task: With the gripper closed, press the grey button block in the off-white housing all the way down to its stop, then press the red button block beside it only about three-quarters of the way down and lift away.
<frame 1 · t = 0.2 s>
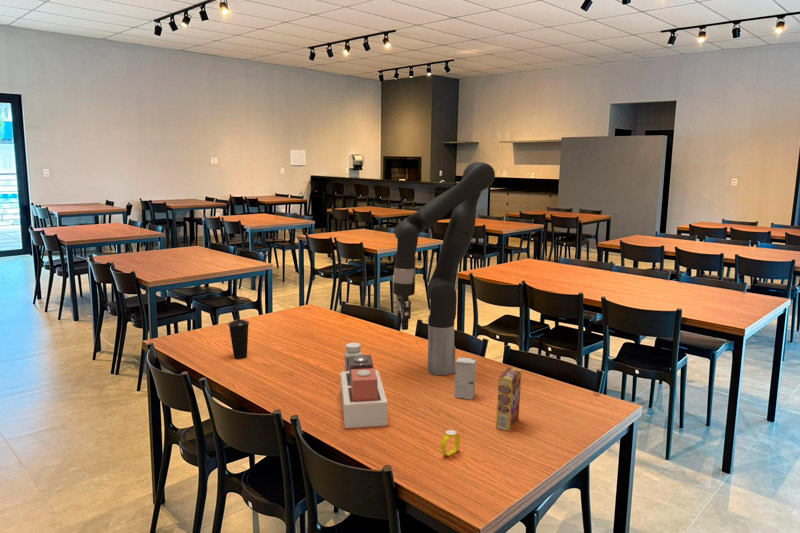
hand: (402, 326, 196), 17 cm above the table, tool pointing down, fingers open, 8 cm apart
drinking cup: (240, 357, 217), on the table
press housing: (362, 407, 172), on the table
skincare box: (465, 396, 180), on the table
red button block: (364, 384, 164), point 10 cm above the table, slide at 0.0 cm
grey button block: (360, 370, 176), point 10 cm above the table, slide at 0.0 cm
candy box: (507, 424, 161), on the table
watch: (450, 454, 144), on the table
pill bottle: (354, 376, 198), on the table
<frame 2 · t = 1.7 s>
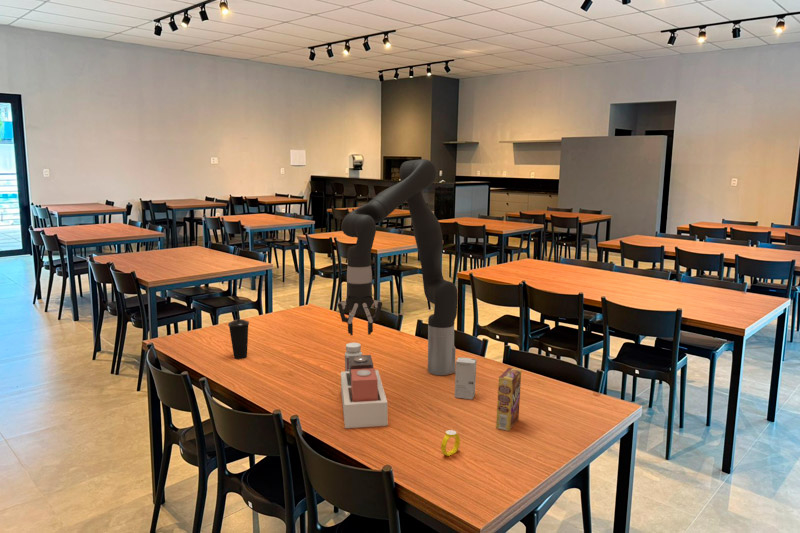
hand: (360, 334, 174), 21 cm above the table, tool pointing down, fingers open, 5 cm apart
nothing on the table moved.
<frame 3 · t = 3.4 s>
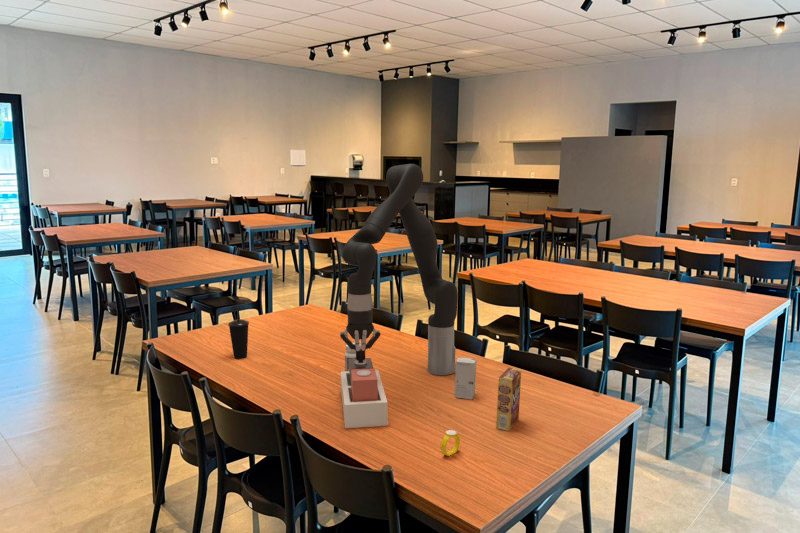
hand: (360, 361, 176), 13 cm above the table, tool pointing down, fingers closed
grey button block: (360, 373, 176), point 9 cm above the table, slide at 1.0 cm, touching gripper
everything else where it was.
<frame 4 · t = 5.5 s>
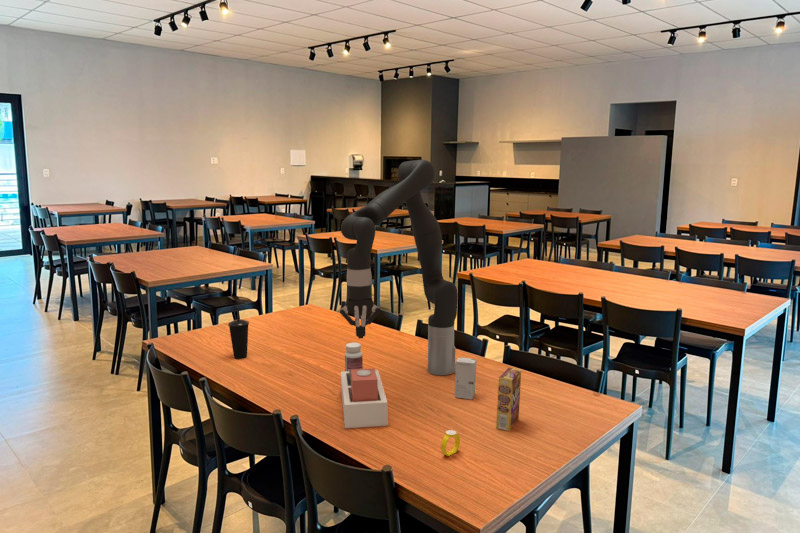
hand: (360, 337, 174), 20 cm above the table, tool pointing down, fingers closed
grey button block: (361, 383, 177), point 5 cm above the table, slide at 4.6 cm
everything else where it was.
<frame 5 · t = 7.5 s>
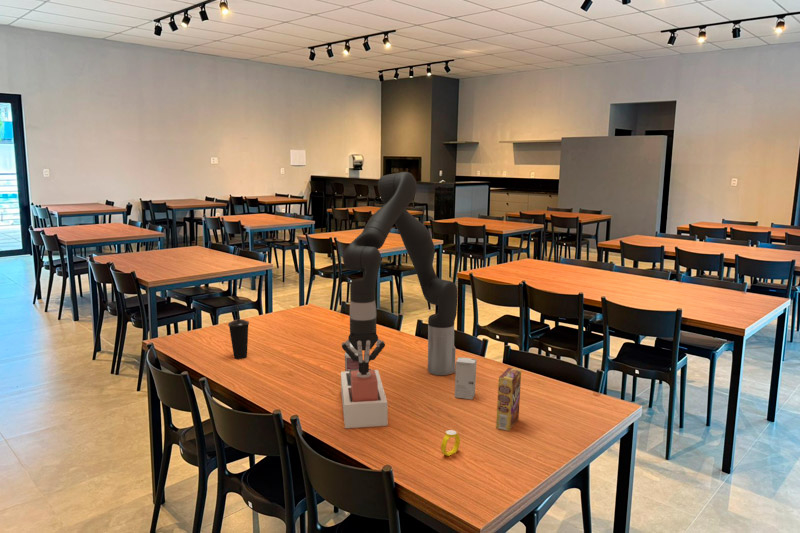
hand: (363, 373, 164), 13 cm above the table, tool pointing down, fingers closed
red button block: (364, 386, 164), point 9 cm above the table, slide at 0.5 cm, touching gripper
everything else where it was.
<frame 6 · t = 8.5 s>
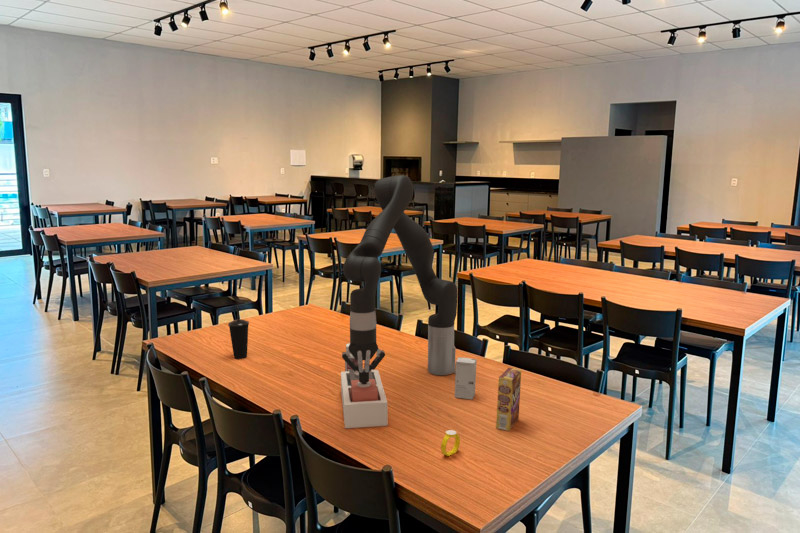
hand: (363, 383, 164), 10 cm above the table, tool pointing down, fingers closed
red button block: (364, 395, 165), point 6 cm above the table, slide at 3.4 cm, touching gripper
everything else where it was.
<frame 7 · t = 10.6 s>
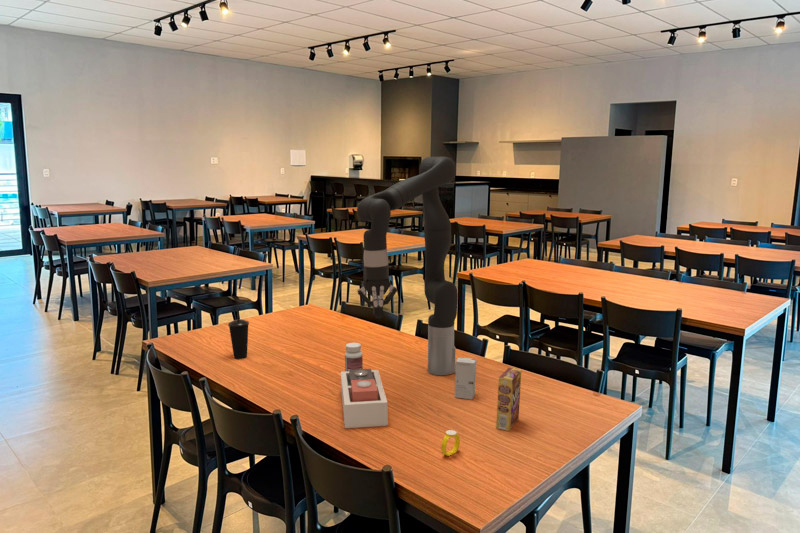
hand: (378, 317, 177), 25 cm above the table, tool pointing down, fingers closed
red button block: (364, 395, 165), point 6 cm above the table, slide at 3.4 cm
everything else where it was.
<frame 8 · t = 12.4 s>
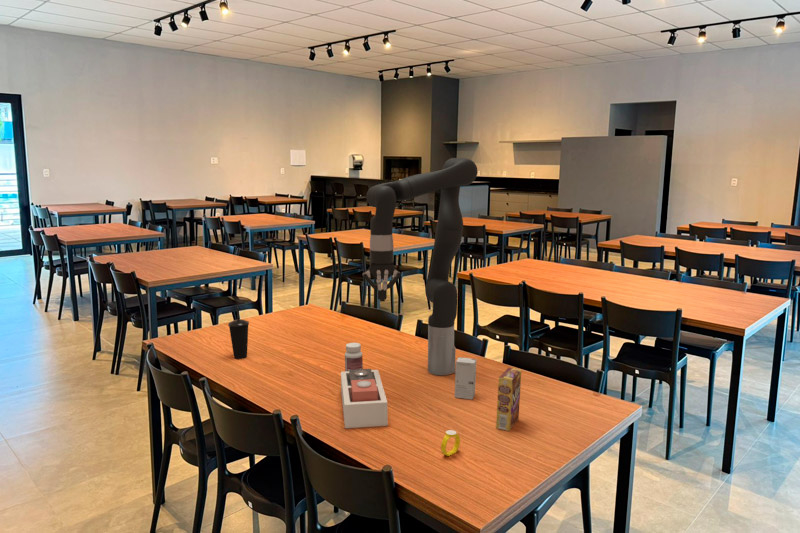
hand: (382, 300, 184), 29 cm above the table, tool pointing down, fingers closed
nothing on the table moved.
at the end: grey button block slide at 4.6 cm; red button block slide at 3.4 cm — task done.
